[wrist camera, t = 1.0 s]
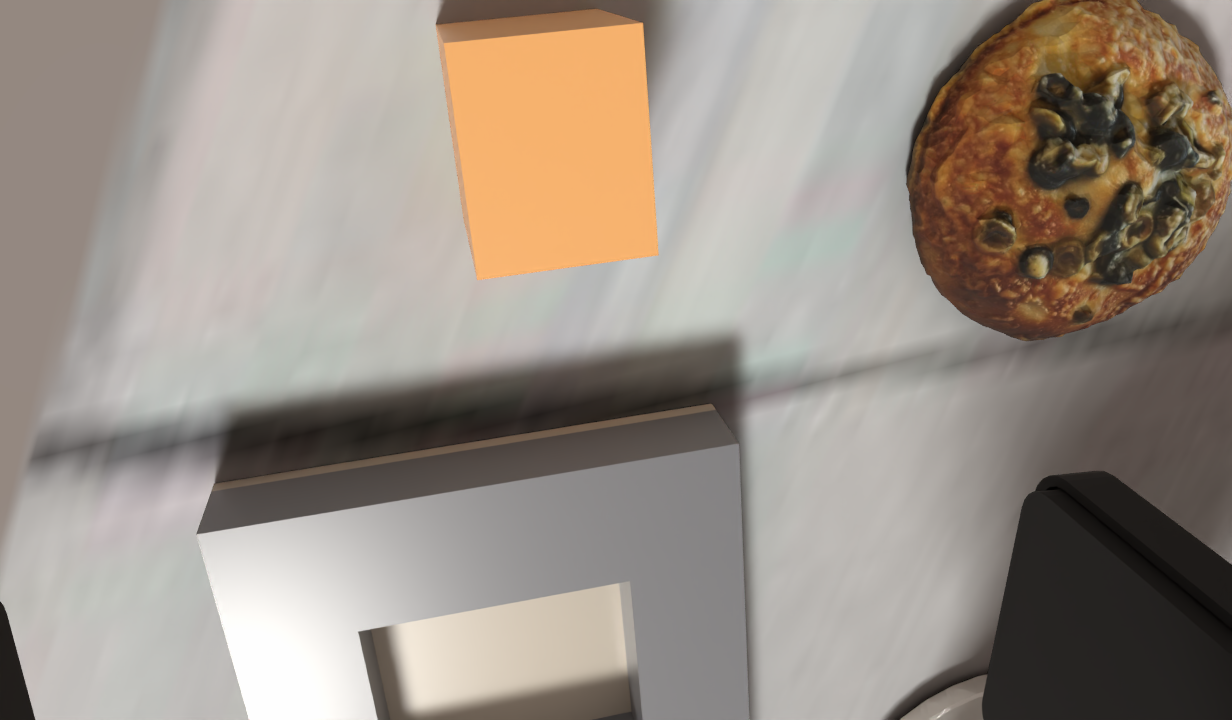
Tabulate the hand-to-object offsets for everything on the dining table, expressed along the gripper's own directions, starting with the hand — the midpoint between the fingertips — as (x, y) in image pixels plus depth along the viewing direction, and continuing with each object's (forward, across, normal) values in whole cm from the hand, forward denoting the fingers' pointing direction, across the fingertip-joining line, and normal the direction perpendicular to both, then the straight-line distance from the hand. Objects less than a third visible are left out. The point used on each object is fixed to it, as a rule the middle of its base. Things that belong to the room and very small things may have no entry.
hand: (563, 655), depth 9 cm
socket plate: (+21, -1, +17) cm, 27 cm away
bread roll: (+22, -20, +1) cm, 30 cm away
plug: (+22, -3, -1) cm, 22 cm away
